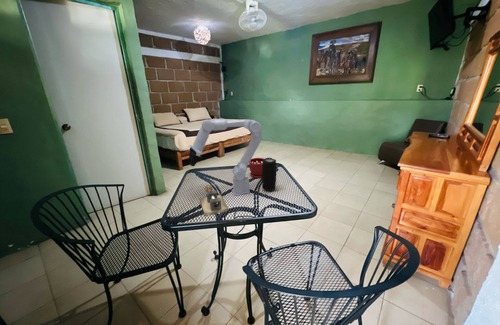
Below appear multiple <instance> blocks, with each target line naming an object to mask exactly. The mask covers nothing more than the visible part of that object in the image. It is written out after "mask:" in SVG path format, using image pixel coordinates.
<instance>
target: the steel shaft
mask: <svg viewBox="0 0 500 325" xmlns="http://www.w3.org/2000/svg"><path fill="white" fill-rule="evenodd" d="M204 190H205V192H206V193H207V192H209V191H213V187H212V186H211V185H209V184H207V185H206V186H205V187H204ZM210 197H211V199H215V197H214V195H210ZM213 204H217V203H213Z"/></svg>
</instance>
